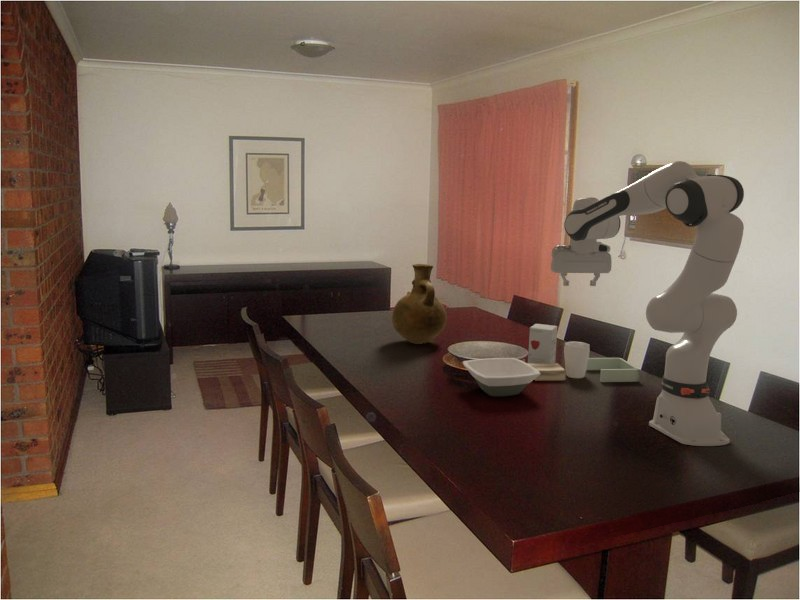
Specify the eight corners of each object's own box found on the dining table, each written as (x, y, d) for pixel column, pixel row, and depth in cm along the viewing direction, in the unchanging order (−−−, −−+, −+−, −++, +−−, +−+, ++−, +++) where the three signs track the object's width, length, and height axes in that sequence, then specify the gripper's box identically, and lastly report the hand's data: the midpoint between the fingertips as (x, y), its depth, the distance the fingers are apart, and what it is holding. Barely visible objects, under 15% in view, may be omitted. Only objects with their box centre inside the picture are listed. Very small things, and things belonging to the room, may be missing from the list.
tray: (638, 381, 226) (639, 369, 225) (600, 382, 225) (601, 369, 224) (619, 369, 241) (620, 357, 241) (584, 369, 240) (585, 358, 239)
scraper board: (565, 381, 226) (565, 370, 226) (532, 381, 226) (532, 370, 225) (556, 373, 236) (557, 362, 236) (525, 373, 236) (525, 363, 235)
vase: (455, 347, 271) (457, 266, 265) (403, 352, 262) (404, 269, 256) (432, 335, 293) (434, 260, 287) (383, 339, 284) (384, 262, 278)
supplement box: (526, 364, 246) (528, 327, 244) (533, 359, 254) (535, 323, 251) (550, 367, 242) (552, 329, 239) (555, 362, 250) (557, 325, 247)
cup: (589, 380, 227) (591, 347, 225) (563, 378, 228) (565, 346, 226) (586, 373, 235) (588, 342, 233) (562, 371, 237) (563, 340, 235)
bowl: (482, 404, 200) (483, 379, 198) (457, 383, 221) (457, 360, 220) (545, 399, 206) (546, 374, 204) (514, 378, 227) (515, 356, 226)
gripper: (555, 246, 209) (552, 287, 212) (615, 247, 211) (611, 287, 214) (549, 244, 215) (547, 283, 218) (607, 244, 217) (604, 284, 220)
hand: (579, 285), depth 216 cm, fingers open, 8 cm apart
